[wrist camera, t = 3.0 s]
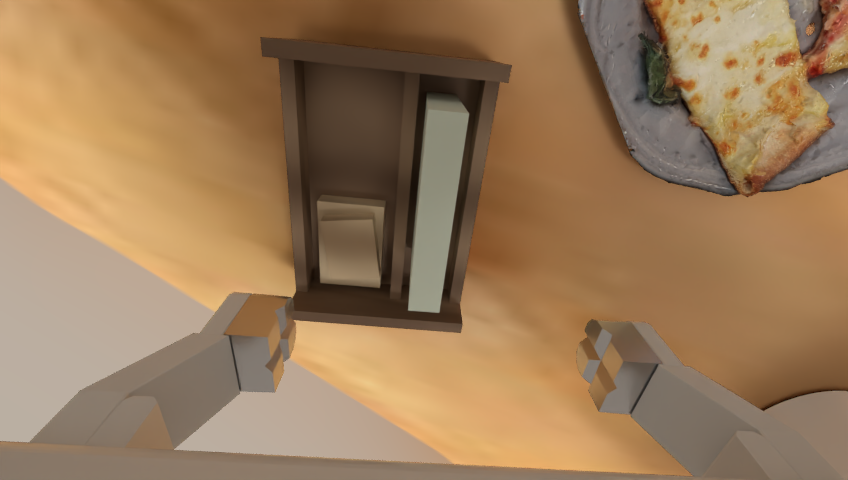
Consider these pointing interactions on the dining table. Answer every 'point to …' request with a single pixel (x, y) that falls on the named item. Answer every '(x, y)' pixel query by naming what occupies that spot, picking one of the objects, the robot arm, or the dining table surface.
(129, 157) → the dining table surface
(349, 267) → the offcut upper
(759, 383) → the dining table surface
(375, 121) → the rack
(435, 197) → the board
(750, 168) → the food plate
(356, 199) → the offcut lower
